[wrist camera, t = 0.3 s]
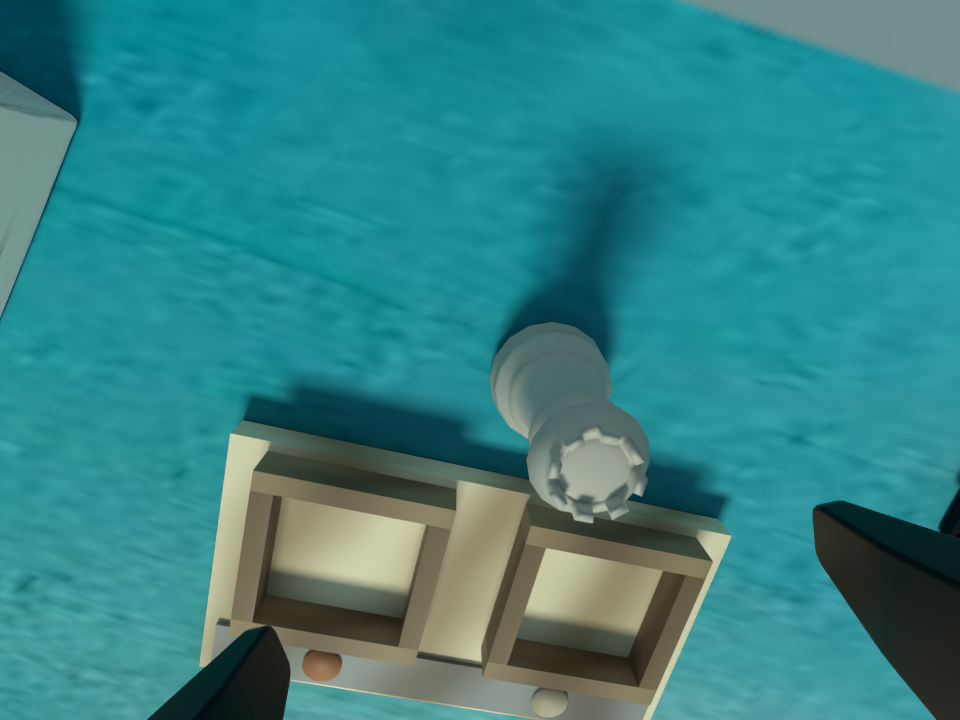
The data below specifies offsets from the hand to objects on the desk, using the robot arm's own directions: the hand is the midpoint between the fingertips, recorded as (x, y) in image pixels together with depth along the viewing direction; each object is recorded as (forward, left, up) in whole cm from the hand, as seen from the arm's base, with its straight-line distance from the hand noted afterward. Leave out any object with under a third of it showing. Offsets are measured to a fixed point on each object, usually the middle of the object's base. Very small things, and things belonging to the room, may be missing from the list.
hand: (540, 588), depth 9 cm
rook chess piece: (-2, 0, -13) cm, 13 cm away
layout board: (-1, +10, -12) cm, 16 cm away
